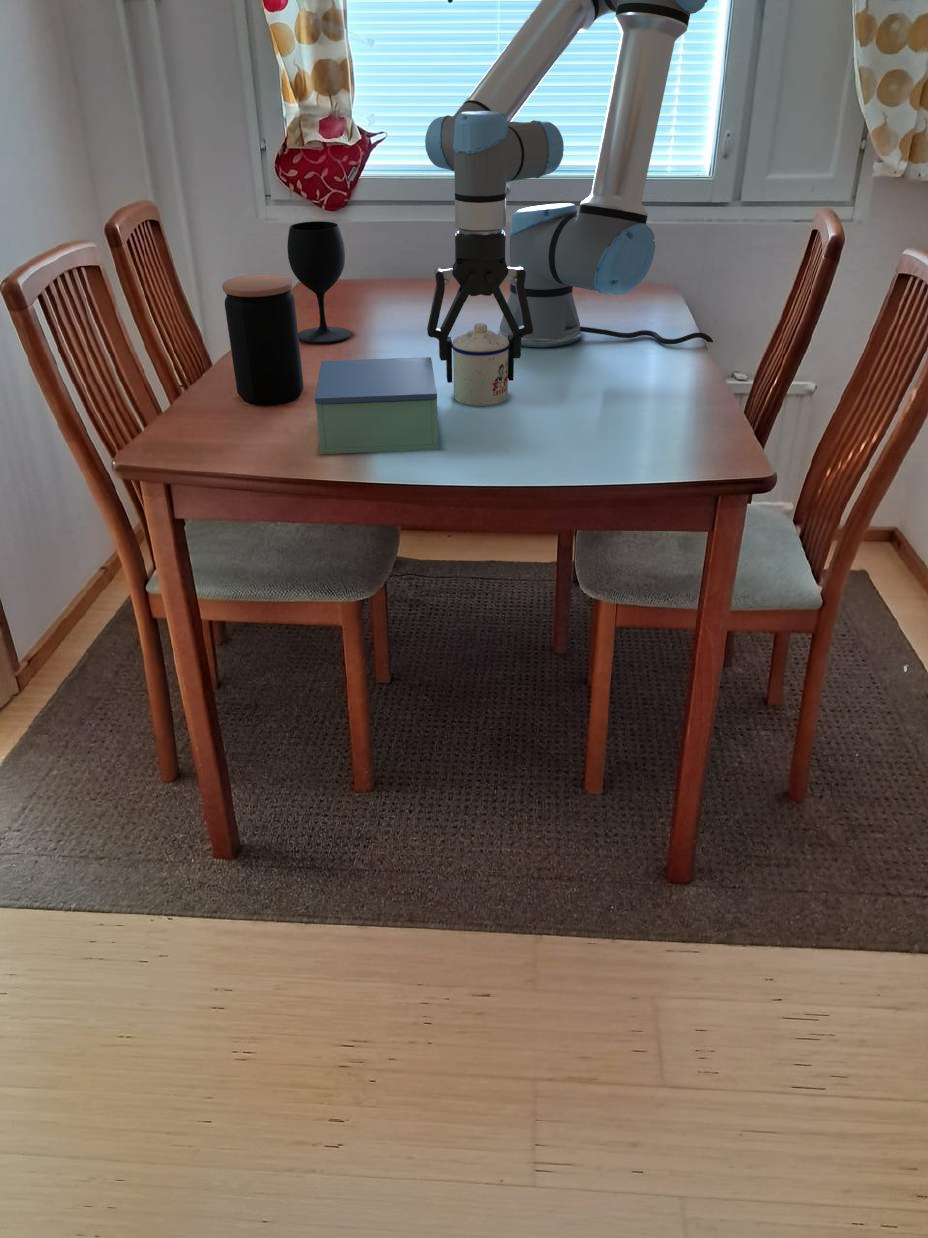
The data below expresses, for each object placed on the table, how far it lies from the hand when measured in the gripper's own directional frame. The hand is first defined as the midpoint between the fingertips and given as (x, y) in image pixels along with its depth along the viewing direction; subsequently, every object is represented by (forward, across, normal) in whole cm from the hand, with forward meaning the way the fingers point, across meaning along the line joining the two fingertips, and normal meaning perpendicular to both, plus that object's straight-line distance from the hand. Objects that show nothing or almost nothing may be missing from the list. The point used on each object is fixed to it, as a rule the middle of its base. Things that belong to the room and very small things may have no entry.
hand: (479, 378), depth 153 cm
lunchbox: (+3, +16, +14) cm, 21 cm away
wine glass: (+3, +27, -36) cm, 45 cm away
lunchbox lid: (-5, +16, +14) cm, 22 cm away
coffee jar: (+3, +34, -3) cm, 34 cm away
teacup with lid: (+3, 0, 0) cm, 3 cm away
